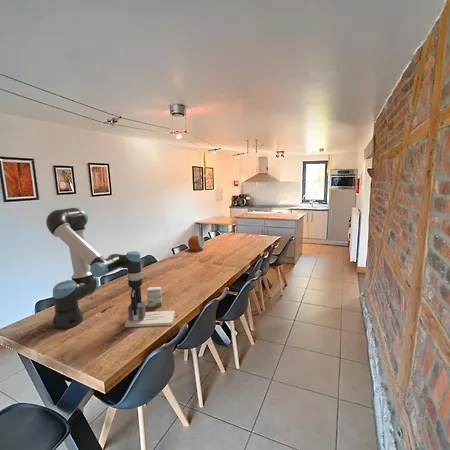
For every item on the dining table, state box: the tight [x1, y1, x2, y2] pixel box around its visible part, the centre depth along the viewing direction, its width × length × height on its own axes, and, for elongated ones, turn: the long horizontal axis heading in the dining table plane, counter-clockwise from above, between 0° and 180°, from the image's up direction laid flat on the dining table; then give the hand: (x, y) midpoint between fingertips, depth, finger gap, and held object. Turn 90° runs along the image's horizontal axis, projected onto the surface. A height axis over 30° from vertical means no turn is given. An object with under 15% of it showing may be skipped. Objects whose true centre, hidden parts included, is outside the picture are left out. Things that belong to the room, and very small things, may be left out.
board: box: [124, 310, 176, 328], centre depth 161 cm, size 26×14×2 cm, turn 94°
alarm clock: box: [187, 234, 205, 252], centre depth 319 cm, size 19×18×17 cm
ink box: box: [146, 286, 163, 308], centre depth 179 cm, size 9×5×12 cm, turn 96°
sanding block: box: [127, 302, 146, 321], centre depth 159 cm, size 8×6×8 cm
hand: (137, 316), depth 160 cm, fingers closed on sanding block, 6 cm apart
